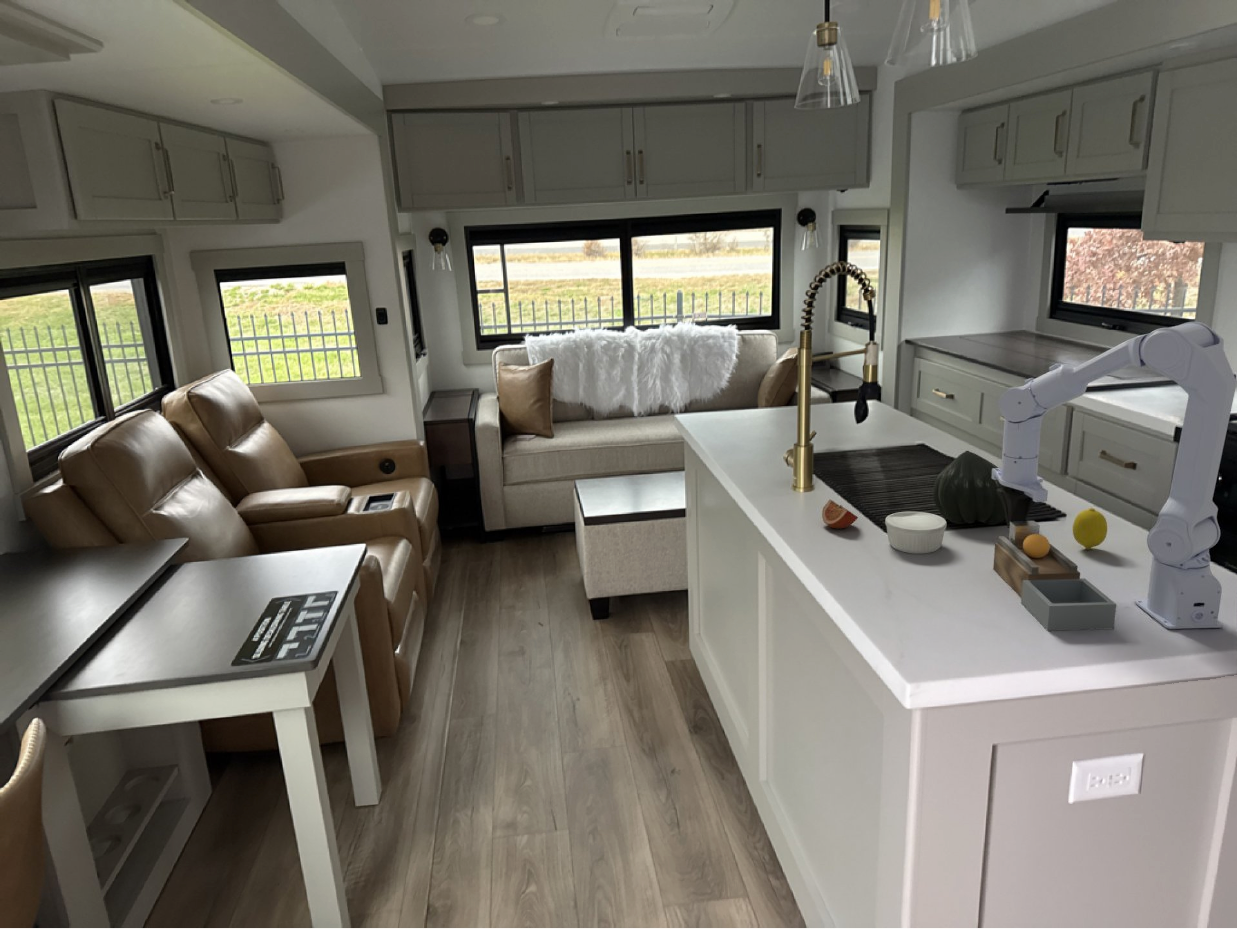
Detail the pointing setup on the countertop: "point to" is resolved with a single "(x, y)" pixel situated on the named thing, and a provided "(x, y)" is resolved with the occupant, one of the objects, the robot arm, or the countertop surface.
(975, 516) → the squash
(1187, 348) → the robot arm
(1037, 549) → the ball
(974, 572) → the countertop surface
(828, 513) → the fruit slice
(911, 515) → the ramekin
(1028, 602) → the grey open tray
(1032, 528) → the plunger
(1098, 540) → the lemon
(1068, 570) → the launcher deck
